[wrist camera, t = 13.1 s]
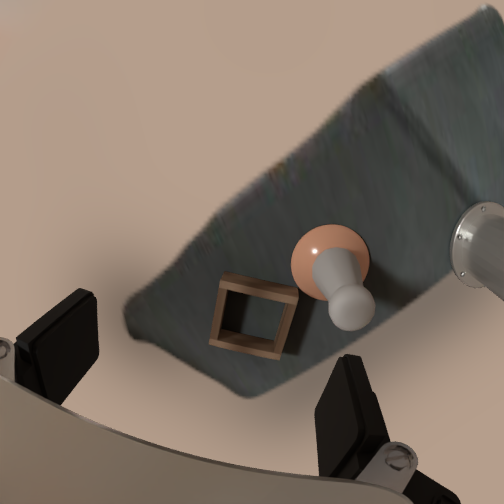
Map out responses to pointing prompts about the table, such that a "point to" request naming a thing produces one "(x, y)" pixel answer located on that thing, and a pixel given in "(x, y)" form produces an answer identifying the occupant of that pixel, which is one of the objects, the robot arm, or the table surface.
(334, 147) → the table surface
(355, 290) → the salt shaker
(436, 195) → the table surface
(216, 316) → the square wooden frame
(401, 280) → the table surface
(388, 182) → the table surface
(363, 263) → the orange round disc
